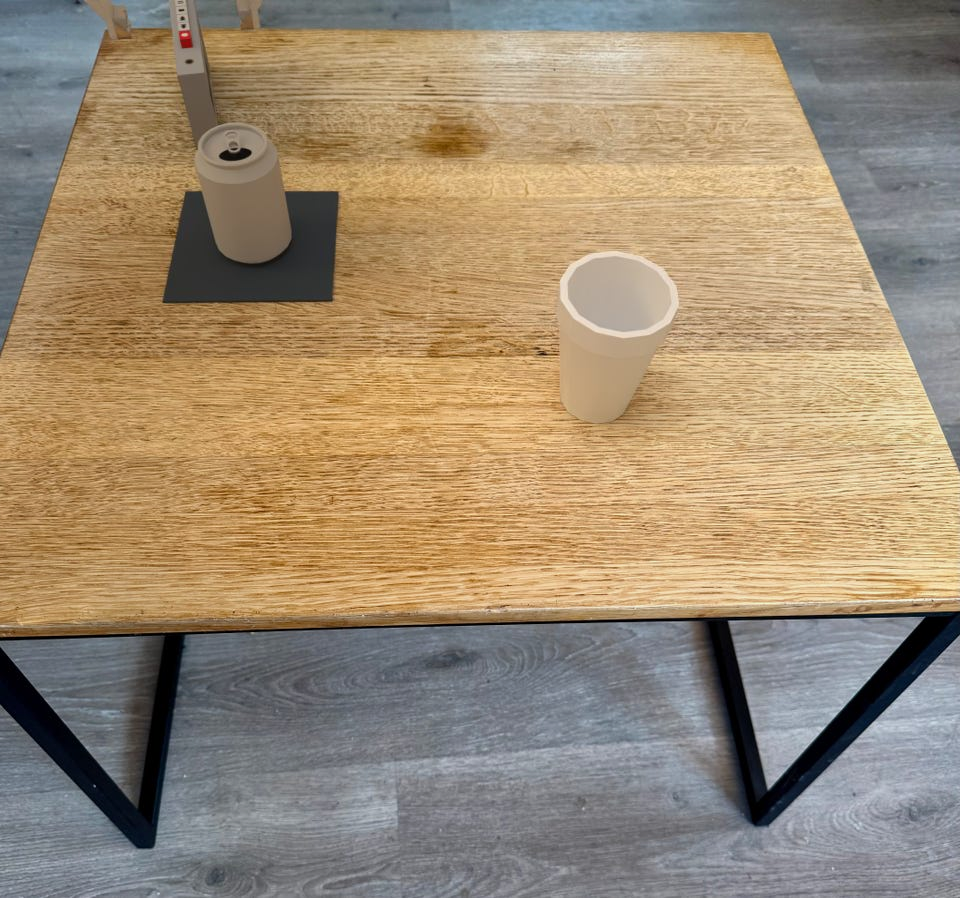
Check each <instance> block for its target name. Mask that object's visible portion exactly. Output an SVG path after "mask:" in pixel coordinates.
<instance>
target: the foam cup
mask: <svg viewBox="0 0 960 898" xmlns="http://www.w3.org/2000/svg"><path fill="white" fill-rule="evenodd" d="M557 290H558V291H557V295H556V321H557V323H558V330H559V331H558V345H559V346H558V349H559V351H558V353H559V355H558V356H559V363H558V364H559V401H560V402H561V404H562V406H563V407H564V409H565V410H566V412H567V413H569V414H570V415H572V416H573V417H575V418H576V419H578V420H579V421H581V422H587V423H589V424H590V423H591V424H595V425H597V424H605V423H610V422H614V421H615V420H616V419H618V418H620V417H622V416H623V415H624V414H625V412H626V410H627V408H628V406H629V405H630V402H631V400H632V399H633V396H634V395H635V393H636V391H637V389H638V387H639V385H640V383H641V382H642V380H643V378H644V376H645V374H646V373H647V370H648V368H649V366H650V364H651V362H652V361H653V359H654V357H655V355H656V354H657V352H658V349H659V348H660V347H661V346H662V345H664V344H665V341H666V339H667V338H668V336H669V334H670V333H671V330H672V328H673V326H674V323H675V320H676V318H677V315H678V311H679V308H680V301H679V294H678V287H677V284H676V283H675V282H674V281H673V280H672V278H671V277H670V276H669V274H668V273H667V272H666V270H665V269H664V268H663V267H661V266H660V265H657V264H656V263H654V262H652V261H650V260H649V259H647V258H645V257H643V256H642V255H637V254H633V253H628V252H623V251H616V250H610V251H602V252H591V253H588V254H587V255H585V256H583V257H581V258H579V259H577V260H576V261H573V262H572V263H570V264H569V266H568V267H567V269H566V270H565V271H564V273H563V275H562V276H561V277H560V279H559V283H558V289H557Z"/></svg>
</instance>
